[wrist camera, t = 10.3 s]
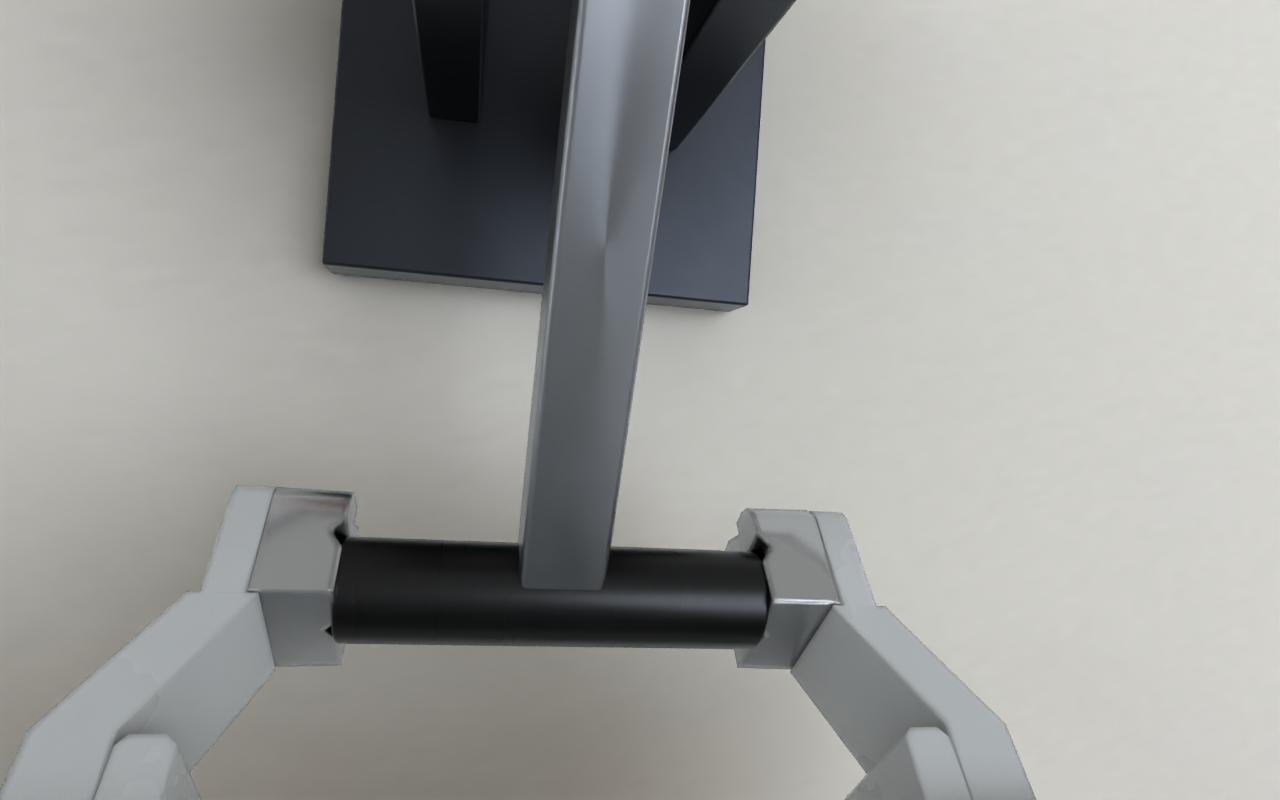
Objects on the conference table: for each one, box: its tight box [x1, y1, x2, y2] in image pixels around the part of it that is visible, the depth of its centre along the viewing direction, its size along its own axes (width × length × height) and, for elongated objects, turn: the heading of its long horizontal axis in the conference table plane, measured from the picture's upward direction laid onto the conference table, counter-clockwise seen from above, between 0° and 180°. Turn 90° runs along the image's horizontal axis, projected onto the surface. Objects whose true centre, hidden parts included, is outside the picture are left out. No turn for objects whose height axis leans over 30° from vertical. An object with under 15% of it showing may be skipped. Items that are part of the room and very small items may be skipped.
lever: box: [331, 0, 768, 649], centre depth 9 cm, size 13×6×2 cm, turn 176°
